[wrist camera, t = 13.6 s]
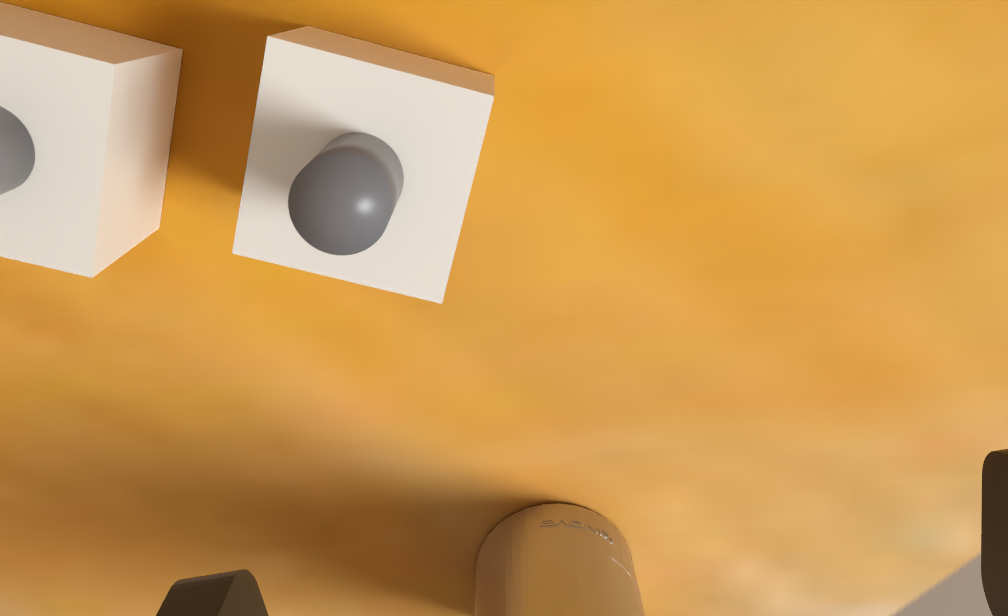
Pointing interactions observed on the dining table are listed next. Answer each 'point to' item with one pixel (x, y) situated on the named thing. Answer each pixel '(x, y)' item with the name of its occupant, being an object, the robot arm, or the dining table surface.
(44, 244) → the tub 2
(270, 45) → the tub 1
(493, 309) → the dining table surface
